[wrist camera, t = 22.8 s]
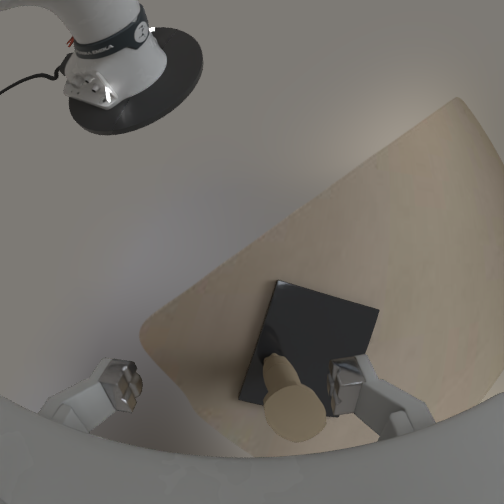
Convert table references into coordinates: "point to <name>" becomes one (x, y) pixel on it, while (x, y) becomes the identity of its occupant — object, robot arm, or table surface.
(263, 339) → the dark grey square plate
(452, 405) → the table surface
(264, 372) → the handle
